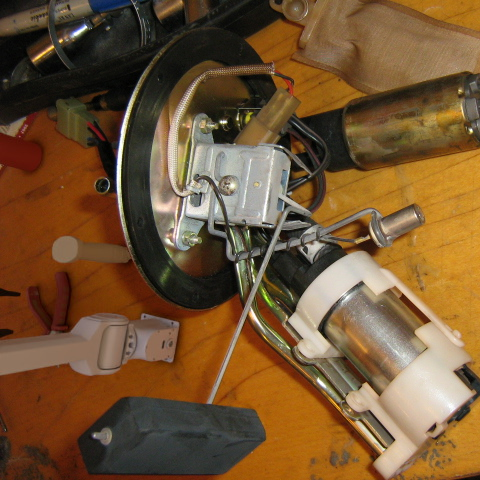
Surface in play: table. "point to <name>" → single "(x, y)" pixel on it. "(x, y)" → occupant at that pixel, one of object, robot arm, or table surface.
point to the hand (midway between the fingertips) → (13, 312)
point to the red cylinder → (19, 153)
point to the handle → (88, 251)
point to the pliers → (60, 308)
